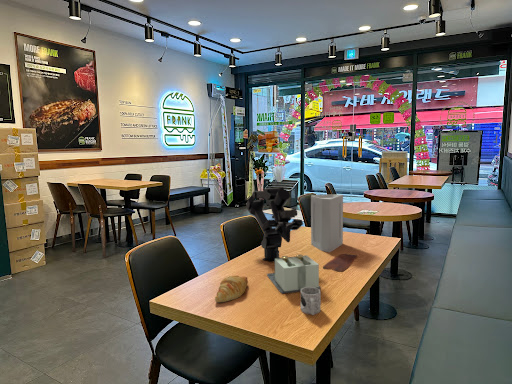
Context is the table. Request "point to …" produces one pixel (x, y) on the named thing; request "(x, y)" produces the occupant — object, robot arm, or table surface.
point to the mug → (310, 300)
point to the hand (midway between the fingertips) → (288, 242)
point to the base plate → (272, 278)
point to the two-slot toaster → (296, 273)
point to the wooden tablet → (340, 262)
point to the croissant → (231, 288)
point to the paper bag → (327, 221)
